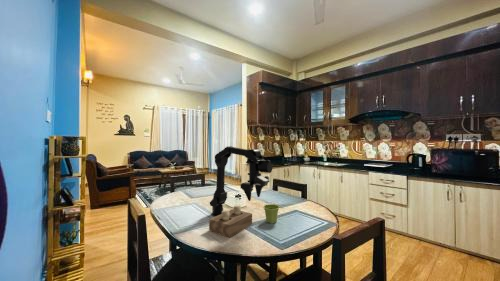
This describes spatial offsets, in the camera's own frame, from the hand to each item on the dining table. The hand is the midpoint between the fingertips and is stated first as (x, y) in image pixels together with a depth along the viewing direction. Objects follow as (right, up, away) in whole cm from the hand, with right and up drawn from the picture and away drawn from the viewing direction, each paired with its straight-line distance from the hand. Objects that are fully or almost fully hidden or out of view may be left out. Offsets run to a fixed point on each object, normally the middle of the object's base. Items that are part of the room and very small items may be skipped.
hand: (254, 198), depth 115 cm
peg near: (-15, -11, -8) cm, 20 cm away
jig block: (-13, -15, -4) cm, 20 cm away
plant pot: (+10, -15, +5) cm, 19 cm away
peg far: (-10, -11, +1) cm, 14 cm away
